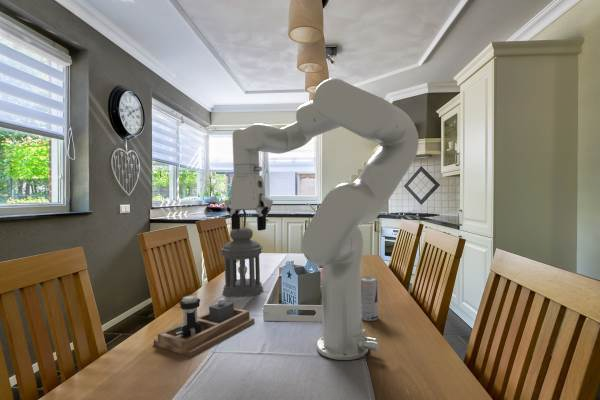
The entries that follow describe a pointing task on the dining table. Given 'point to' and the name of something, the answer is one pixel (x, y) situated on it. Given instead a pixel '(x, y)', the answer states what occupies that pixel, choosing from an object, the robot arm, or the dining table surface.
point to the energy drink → (369, 299)
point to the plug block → (221, 311)
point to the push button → (189, 316)
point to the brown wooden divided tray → (203, 333)
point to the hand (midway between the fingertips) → (248, 229)
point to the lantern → (242, 263)
